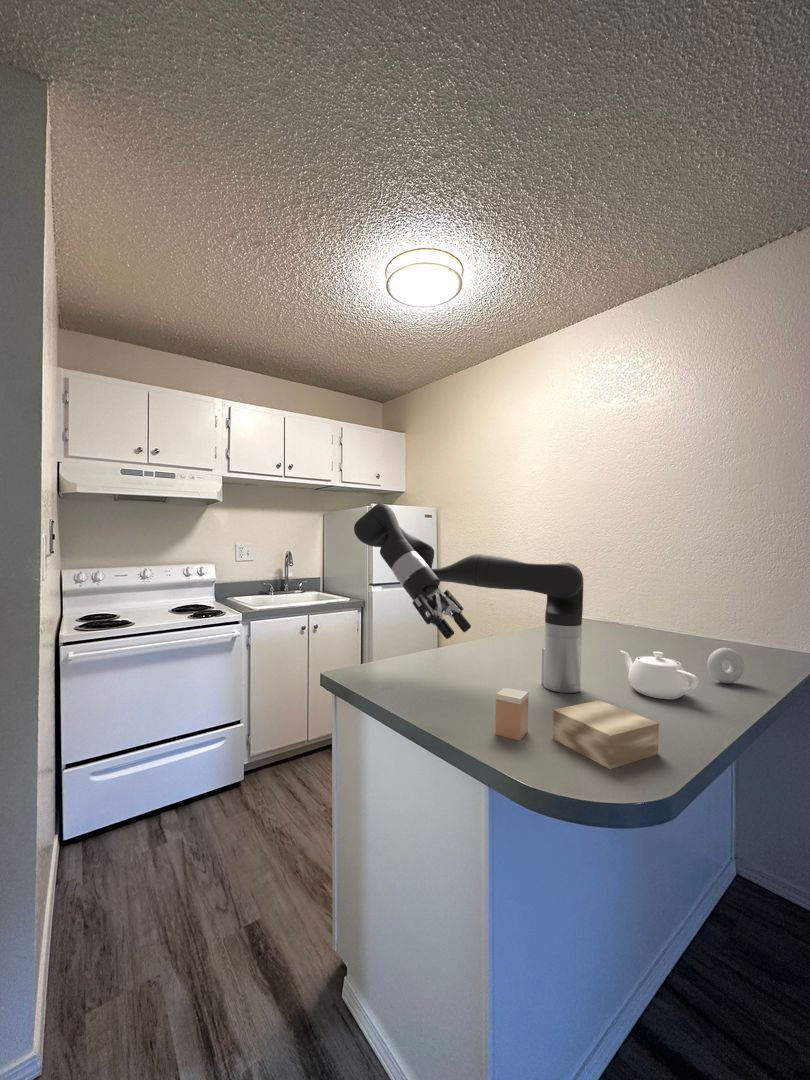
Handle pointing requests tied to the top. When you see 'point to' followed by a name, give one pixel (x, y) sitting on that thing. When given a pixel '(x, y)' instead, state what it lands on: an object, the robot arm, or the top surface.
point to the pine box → (606, 733)
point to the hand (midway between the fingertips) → (459, 633)
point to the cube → (511, 713)
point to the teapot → (658, 676)
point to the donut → (734, 669)
